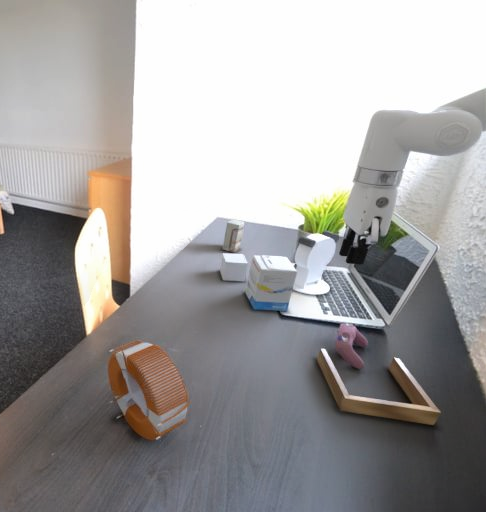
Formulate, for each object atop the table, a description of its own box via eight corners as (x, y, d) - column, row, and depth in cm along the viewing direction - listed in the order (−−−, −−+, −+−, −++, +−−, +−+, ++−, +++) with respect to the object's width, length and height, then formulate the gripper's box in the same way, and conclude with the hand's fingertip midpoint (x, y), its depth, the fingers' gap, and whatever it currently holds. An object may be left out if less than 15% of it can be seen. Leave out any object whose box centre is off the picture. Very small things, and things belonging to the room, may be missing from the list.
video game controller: (344, 345, 83) (336, 317, 82) (369, 345, 80) (360, 316, 79) (338, 370, 76) (328, 340, 75) (365, 371, 73) (355, 339, 72)
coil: (132, 386, 71) (135, 323, 65) (187, 446, 60) (197, 376, 53) (102, 400, 68) (102, 336, 62) (154, 466, 57) (160, 395, 50)
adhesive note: (244, 281, 107) (248, 263, 104) (222, 280, 108) (225, 262, 105) (240, 271, 112) (243, 254, 109) (219, 270, 113) (222, 253, 110)
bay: (394, 369, 74) (399, 358, 72) (434, 425, 62) (441, 412, 61) (316, 359, 77) (320, 348, 76) (340, 410, 65) (345, 398, 64)
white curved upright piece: (303, 271, 111) (315, 225, 105) (340, 288, 102) (356, 238, 96) (274, 280, 107) (285, 232, 100) (310, 298, 98) (325, 247, 91)
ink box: (288, 311, 92) (298, 270, 87) (252, 309, 94) (261, 269, 89) (277, 294, 100) (286, 255, 95) (244, 292, 101) (252, 254, 96)
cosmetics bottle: (234, 253, 124) (239, 225, 119) (221, 249, 127) (226, 222, 122) (240, 248, 127) (245, 221, 123) (228, 245, 130) (232, 218, 126)
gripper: (423, 188, 65) (388, 279, 73) (379, 168, 79) (354, 245, 87) (374, 186, 66) (345, 275, 74) (340, 167, 81) (319, 243, 89)
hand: (350, 258), depth 80 cm, fingers open, 3 cm apart
